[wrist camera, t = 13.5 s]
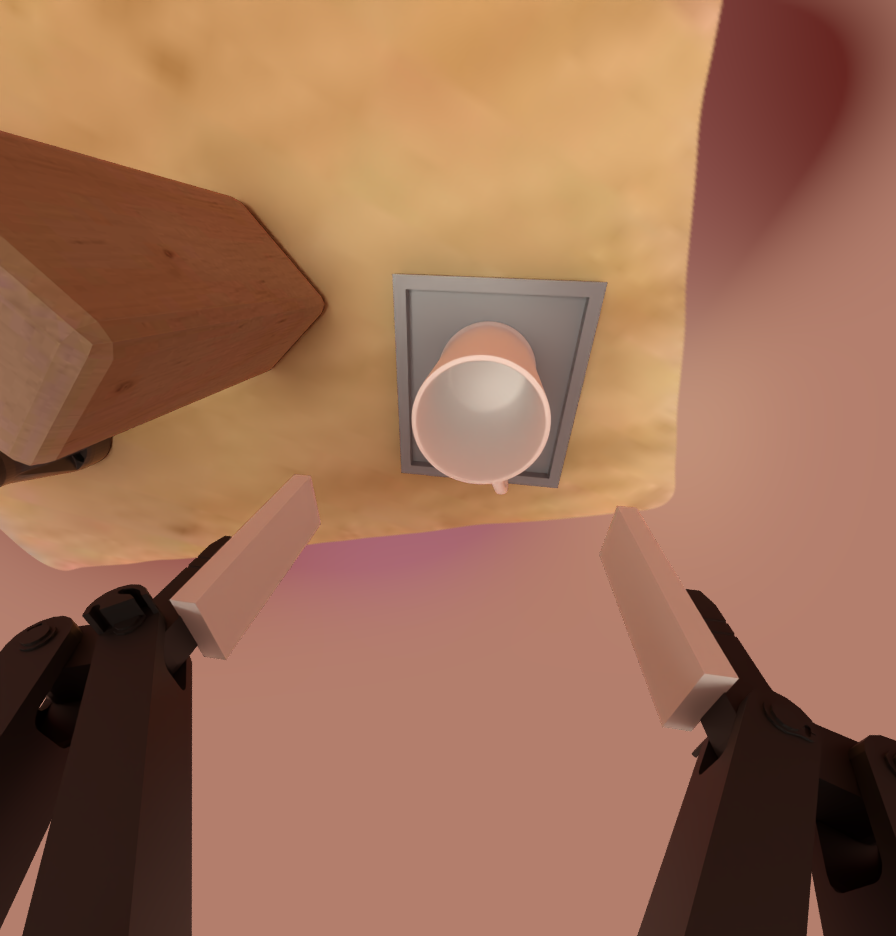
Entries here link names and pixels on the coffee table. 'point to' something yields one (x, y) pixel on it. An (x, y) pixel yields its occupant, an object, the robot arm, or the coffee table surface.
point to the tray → (517, 305)
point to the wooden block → (127, 298)
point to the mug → (483, 407)
